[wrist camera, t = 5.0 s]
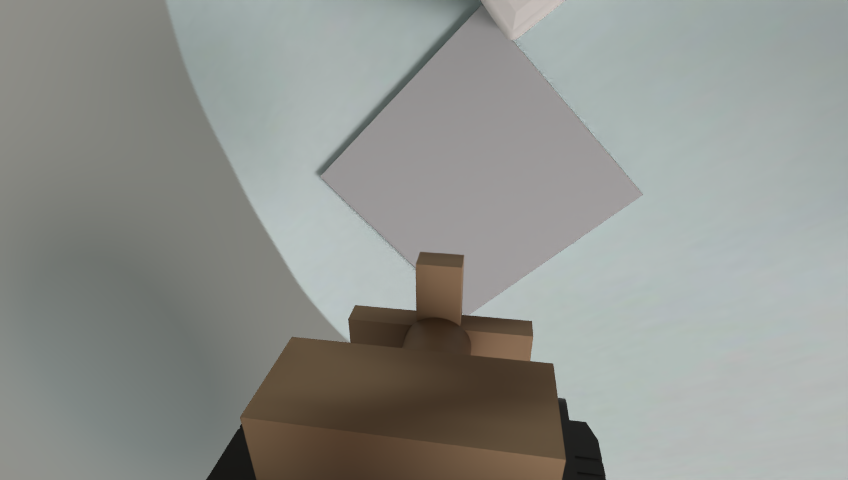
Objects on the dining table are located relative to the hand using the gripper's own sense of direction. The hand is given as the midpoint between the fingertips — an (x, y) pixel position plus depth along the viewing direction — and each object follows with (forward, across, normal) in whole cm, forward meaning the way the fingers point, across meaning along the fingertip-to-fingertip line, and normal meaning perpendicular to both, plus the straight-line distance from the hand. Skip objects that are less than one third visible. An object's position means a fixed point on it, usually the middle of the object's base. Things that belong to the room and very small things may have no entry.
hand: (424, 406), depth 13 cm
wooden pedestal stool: (+3, 0, 0) cm, 3 cm away
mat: (+18, 0, 0) cm, 18 cm away
